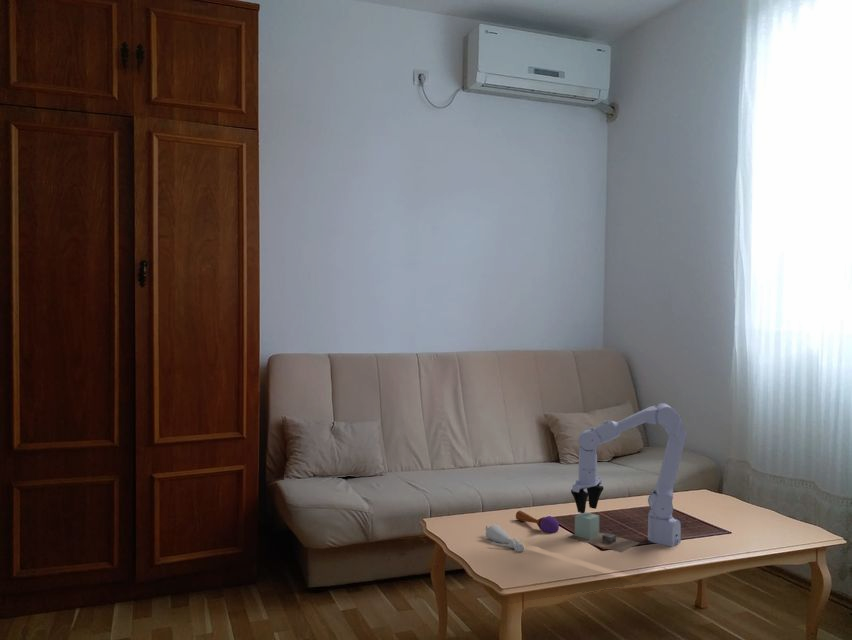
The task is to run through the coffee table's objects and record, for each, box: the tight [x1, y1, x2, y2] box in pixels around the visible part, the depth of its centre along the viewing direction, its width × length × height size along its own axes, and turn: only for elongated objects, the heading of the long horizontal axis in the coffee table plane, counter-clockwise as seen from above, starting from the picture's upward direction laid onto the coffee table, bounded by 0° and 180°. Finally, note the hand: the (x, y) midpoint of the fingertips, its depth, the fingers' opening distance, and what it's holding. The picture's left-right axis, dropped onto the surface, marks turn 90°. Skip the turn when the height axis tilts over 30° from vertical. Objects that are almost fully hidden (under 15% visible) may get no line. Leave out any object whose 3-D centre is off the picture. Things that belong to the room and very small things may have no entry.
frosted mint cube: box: [574, 511, 600, 540], centre depth 226 cm, size 6×6×6 cm
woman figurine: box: [485, 524, 525, 553], centre depth 221 cm, size 12×4×18 cm
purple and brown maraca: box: [515, 510, 560, 534], centre depth 237 cm, size 6×6×20 cm
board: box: [567, 531, 641, 553], centre depth 222 cm, size 19×12×6 cm, turn 46°
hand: (587, 510), depth 226 cm, fingers open, 6 cm apart
